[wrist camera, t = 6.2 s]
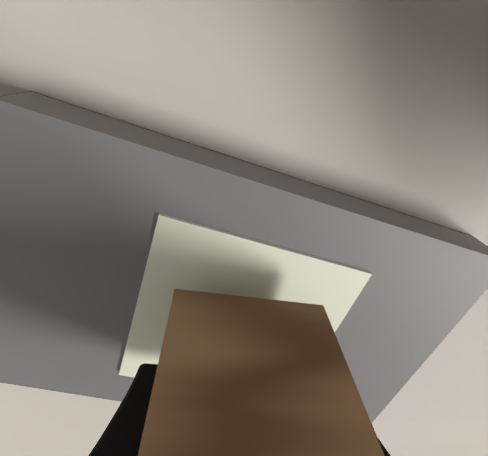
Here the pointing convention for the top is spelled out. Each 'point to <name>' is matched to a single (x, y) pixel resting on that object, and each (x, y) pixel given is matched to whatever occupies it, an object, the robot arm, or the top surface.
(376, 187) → the top surface
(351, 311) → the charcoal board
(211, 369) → the walnut cube
